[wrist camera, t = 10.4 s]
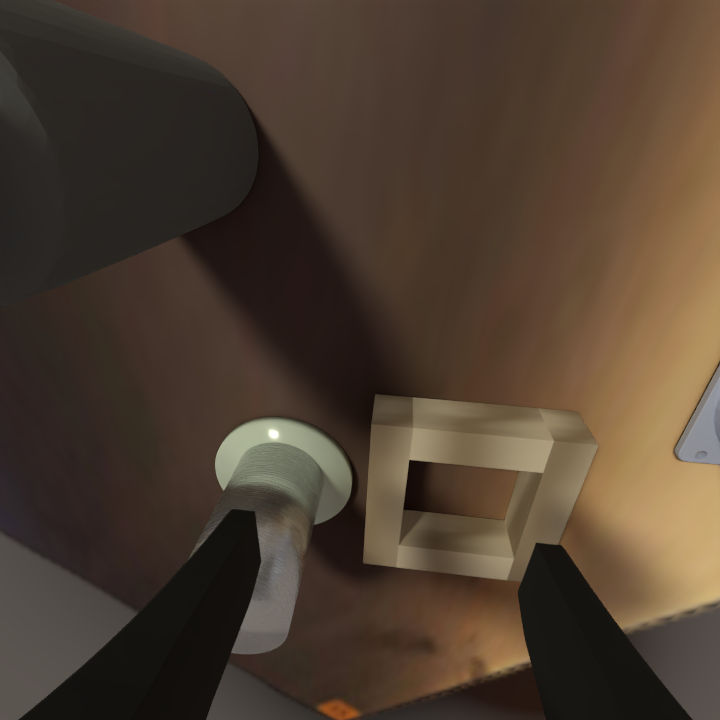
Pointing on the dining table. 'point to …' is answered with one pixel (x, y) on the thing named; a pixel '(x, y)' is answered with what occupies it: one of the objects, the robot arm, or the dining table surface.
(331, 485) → the coaster
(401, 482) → the collar
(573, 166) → the dining table surface
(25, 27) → the bottle
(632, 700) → the robot arm
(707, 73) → the dining table surface
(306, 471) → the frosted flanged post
